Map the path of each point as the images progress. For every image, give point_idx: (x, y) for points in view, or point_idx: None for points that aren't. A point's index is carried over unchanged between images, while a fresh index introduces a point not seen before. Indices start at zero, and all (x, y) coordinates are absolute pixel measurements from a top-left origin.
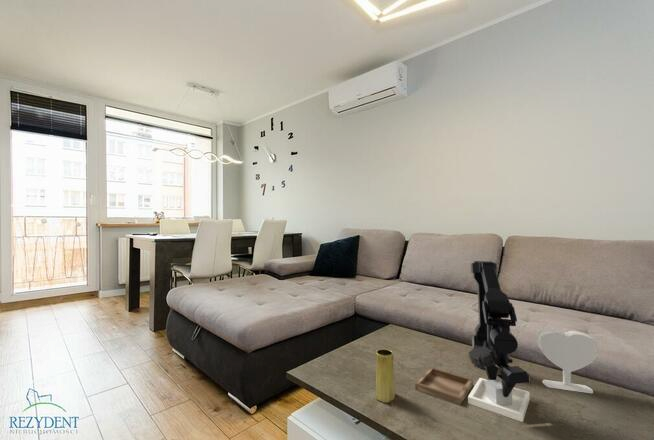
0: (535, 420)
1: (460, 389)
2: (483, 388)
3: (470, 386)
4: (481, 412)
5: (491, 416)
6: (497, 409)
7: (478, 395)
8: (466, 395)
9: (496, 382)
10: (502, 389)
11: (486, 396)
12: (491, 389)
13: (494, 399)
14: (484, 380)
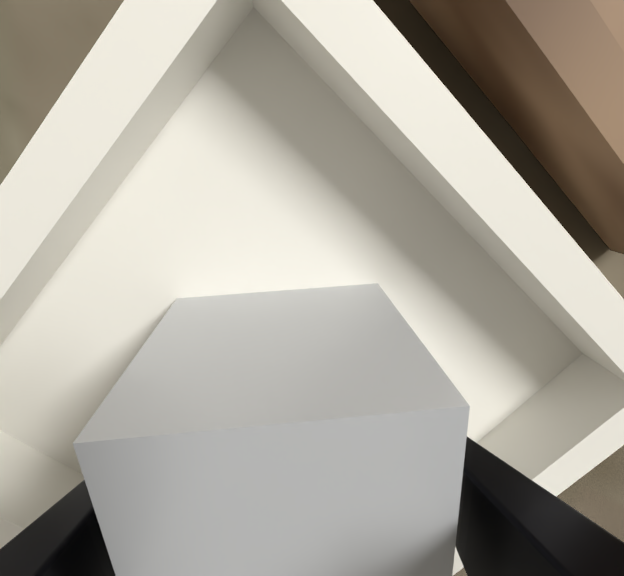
0: None
1: (598, 7)
2: (528, 336)
3: (591, 176)
4: (81, 51)
5: (6, 143)
6: None
7: (410, 201)
8: (442, 20)
9: (354, 554)
10: (52, 551)
11: (369, 285)
12: (257, 371)
13: (200, 320)
14: (618, 410)
